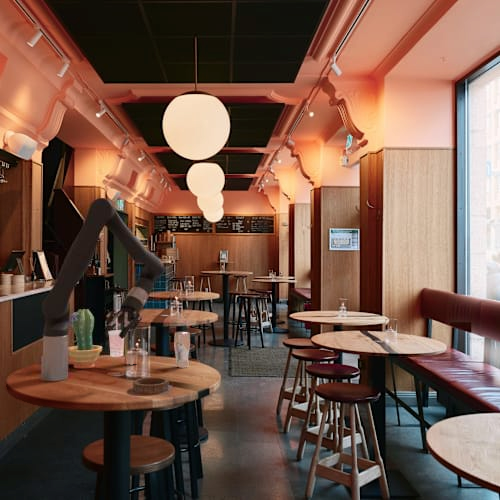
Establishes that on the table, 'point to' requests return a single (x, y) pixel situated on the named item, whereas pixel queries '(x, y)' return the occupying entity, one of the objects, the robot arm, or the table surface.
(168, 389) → the mat
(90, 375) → the table surface
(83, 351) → the potted cactus
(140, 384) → the bowl
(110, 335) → the beverage cup
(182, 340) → the beer glass
